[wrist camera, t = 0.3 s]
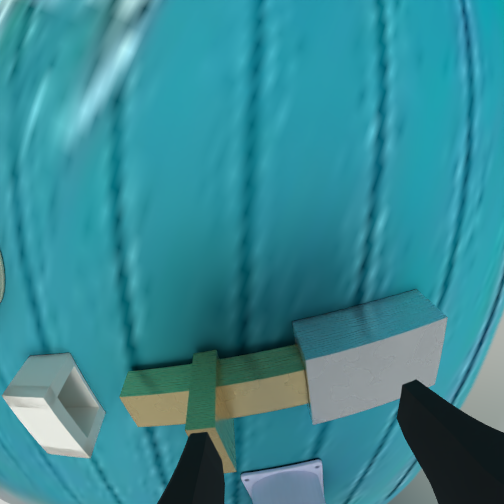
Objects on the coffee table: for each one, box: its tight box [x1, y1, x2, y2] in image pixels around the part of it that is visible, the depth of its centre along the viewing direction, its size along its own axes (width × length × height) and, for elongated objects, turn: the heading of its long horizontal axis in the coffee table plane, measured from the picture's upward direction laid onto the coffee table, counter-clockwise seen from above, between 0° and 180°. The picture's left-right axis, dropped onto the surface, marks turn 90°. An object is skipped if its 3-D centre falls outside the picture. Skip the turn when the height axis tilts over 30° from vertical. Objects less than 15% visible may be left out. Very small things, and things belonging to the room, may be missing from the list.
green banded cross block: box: [120, 344, 309, 473], centre depth 17 cm, size 5×20×6 cm, turn 101°
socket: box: [2, 353, 105, 458], centre depth 18 cm, size 6×4×5 cm
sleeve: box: [292, 289, 447, 425], centre depth 19 cm, size 6×9×4 cm, turn 101°
